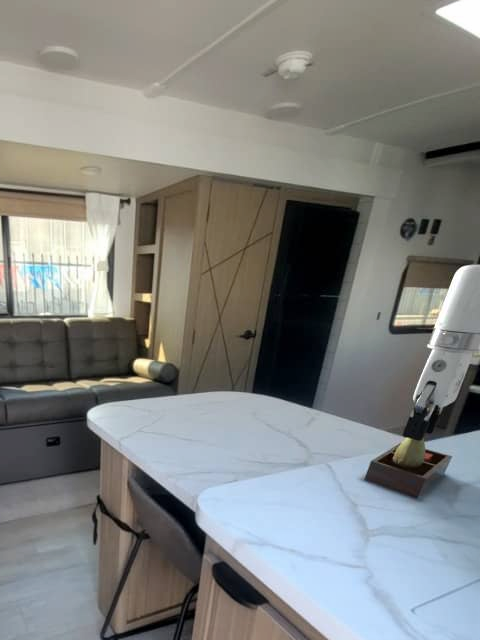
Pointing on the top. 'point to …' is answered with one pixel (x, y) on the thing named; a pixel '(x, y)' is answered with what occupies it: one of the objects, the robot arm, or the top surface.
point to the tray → (407, 473)
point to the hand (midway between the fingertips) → (417, 434)
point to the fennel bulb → (410, 453)
